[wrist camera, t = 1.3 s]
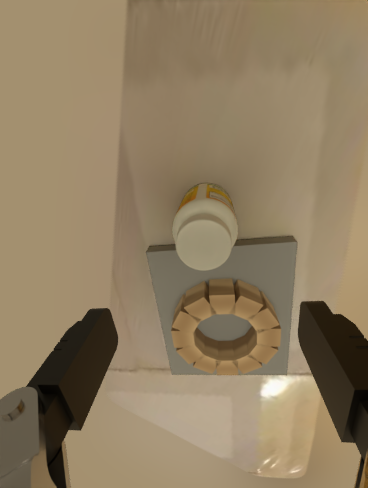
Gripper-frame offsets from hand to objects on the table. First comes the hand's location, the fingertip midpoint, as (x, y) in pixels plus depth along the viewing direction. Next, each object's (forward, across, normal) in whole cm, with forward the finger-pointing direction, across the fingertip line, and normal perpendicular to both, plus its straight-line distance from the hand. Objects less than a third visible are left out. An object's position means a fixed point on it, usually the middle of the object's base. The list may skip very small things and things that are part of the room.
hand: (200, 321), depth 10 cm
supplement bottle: (+17, 0, 0) cm, 17 cm away
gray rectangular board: (+17, -1, +14) cm, 22 cm away
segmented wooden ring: (+15, -1, +14) cm, 21 cm away
